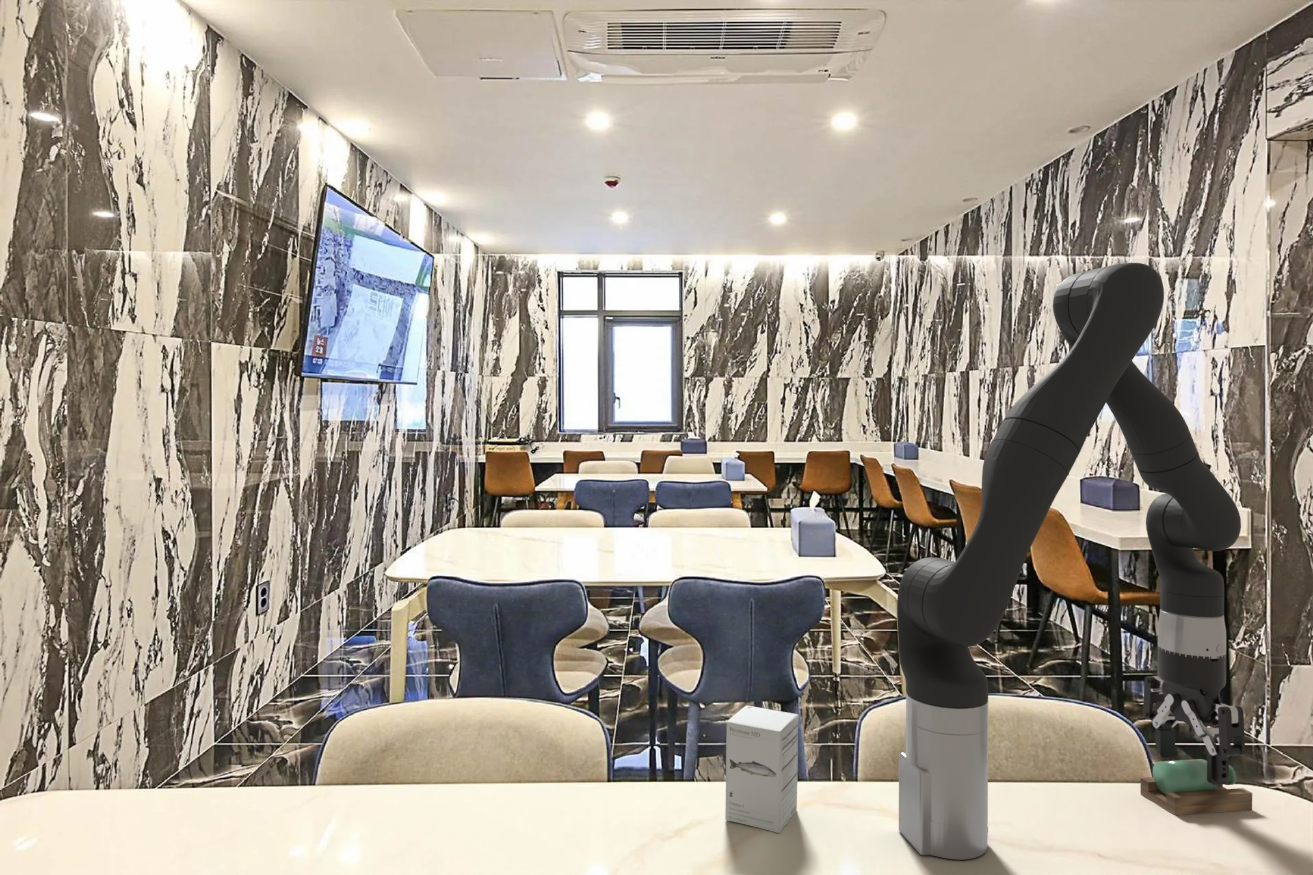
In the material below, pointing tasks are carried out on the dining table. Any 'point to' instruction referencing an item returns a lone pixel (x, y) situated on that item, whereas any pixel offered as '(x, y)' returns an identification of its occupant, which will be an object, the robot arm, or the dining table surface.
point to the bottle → (1185, 776)
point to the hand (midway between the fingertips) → (1190, 769)
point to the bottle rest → (1197, 799)
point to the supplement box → (761, 768)
